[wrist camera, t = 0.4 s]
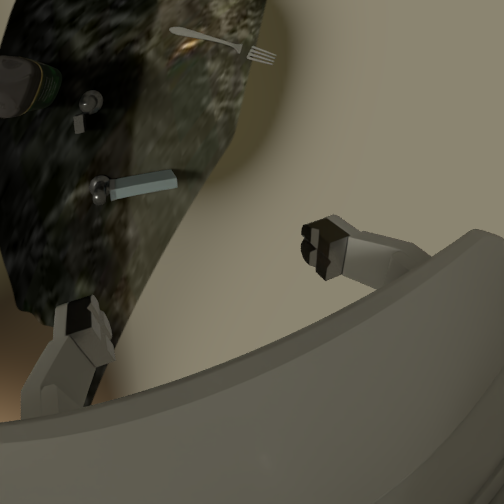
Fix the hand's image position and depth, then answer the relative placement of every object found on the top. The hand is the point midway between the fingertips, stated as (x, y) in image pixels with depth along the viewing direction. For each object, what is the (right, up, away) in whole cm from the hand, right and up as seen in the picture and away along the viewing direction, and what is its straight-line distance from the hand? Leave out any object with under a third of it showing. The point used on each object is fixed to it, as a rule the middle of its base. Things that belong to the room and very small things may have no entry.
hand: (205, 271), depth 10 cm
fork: (-5, +40, +31) cm, 51 cm away
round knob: (-27, +13, +37) cm, 47 cm away
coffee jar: (-35, +29, +21) cm, 50 cm away
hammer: (-26, +25, +28) cm, 46 cm away
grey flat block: (-19, +14, +40) cm, 46 cm away
